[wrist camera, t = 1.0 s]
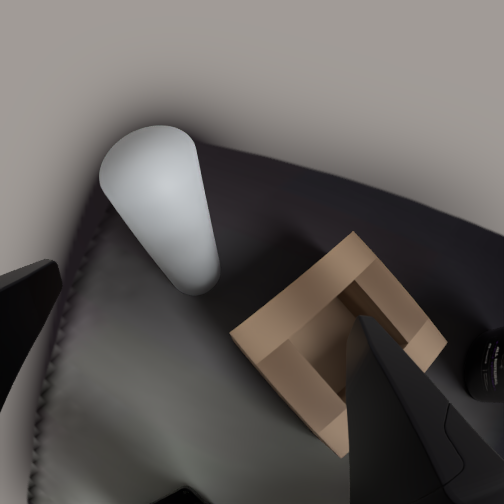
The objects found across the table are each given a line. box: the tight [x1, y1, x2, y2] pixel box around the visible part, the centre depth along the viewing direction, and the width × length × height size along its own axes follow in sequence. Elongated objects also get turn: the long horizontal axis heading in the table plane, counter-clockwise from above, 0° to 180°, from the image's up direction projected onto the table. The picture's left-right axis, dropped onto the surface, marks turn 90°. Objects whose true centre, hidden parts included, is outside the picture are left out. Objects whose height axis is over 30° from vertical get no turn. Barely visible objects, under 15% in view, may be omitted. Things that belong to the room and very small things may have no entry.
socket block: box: [230, 231, 447, 458], centre depth 18 cm, size 10×10×5 cm
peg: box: [99, 126, 221, 296], centre depth 17 cm, size 4×4×13 cm
